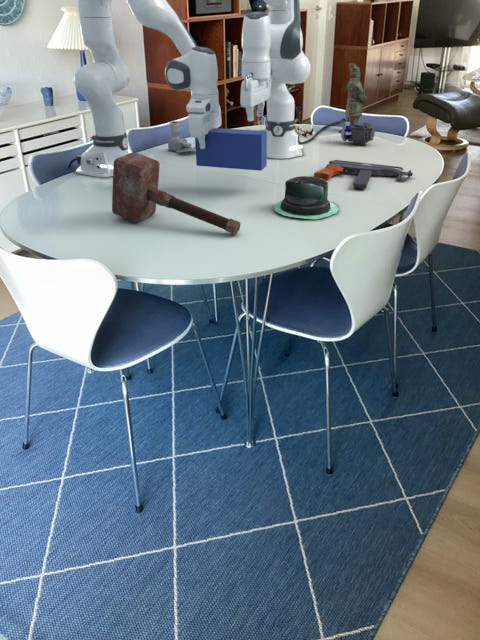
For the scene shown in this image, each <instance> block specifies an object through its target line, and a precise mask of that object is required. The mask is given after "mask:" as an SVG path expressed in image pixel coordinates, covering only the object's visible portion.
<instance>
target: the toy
mask: <svg viewBox="0 0 480 640" xmlns="http://www.w3.org/2000/svg"><path fill="white" fill-rule="evenodd" d="M357 124H358V123H357ZM357 124H355V125H354V127H352V124H350V122H346V121H345V122H344V123H343V126H342V128H341V129H339V130H338V134H340V137H341V139H342V141H343V142H346V141H348V142H349V143H352V145H358V146H359V145H360V146H366V144H367V143H369V142H373V140H374V138H375V133H376V129H375V127H374V126H372V123H370V122H363V124H358V125H357Z"/></svg>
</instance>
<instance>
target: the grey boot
mask: <svg viewBox="0 0 480 640" xmlns="http://www.w3.org/2000/svg"><path fill="white" fill-rule="evenodd" d="M180 128H181V126H180V121H178V120H173V121H172V120H171V121H169V129H170V137H167V146H168V148H167V149H168V151H171V152H174V153H175V152H176V154H181V153H187V152H190V151H194V150H196V147H195V146H194V147H193V146H192V143H190V142H188V139H186V138H182V137H180V136H181V135H180Z"/></svg>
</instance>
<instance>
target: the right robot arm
mask: <svg viewBox="0 0 480 640" xmlns="http://www.w3.org/2000/svg"><path fill="white" fill-rule="evenodd" d="M262 1H263V2H264V3H265V4H267V5H268V12H265V11H250V12H247V13H245V14H244V16H243V21H242V29H241V49H242V56H241V57H242V58H241V78H242V79H244V80H242V81H241V84H240V99H239V103H240V107H241V108H245V113H246V116H247V121H248V122H254V121H255V114H254V109H255V107H256V106H257V108H256V117H263V116H264V108H265V104H266V120H265V131H267V158H269V159H279V160H281V159H282V160H283V159H293V158H295V157H296V158H297V157H302V156H303V150H302V148H303V145H305V144H307V143H309V142H311V141H313V140H315V138H316V137H317V136H318V135H319V134H320V133H321V132H323V130H325V129H327V128H329V127H331V126H334V125H337V124H340V123H342V122H343V121H344V122H346V117H342V118H341V119H340V120H338V121H334V122H331V123H329V124H326V125H325V126H322V128H320V129H319V130H318V131H316V133H315V134H314V135H312V137H311V138H308V139H307V140H305V141H301V140H300V135H299V134H297V133H296V132H295V126H296V122H295V120H296V118H295V103H296V101H295V98H294V96H293V95H292V94H291V93H290V91H289V90H288V88H287V85H297V84H298V85H299V84H303V83H305V82H306V81H307V80H308V79H309V77H310V74H311V72H312V71H311V69H312V67H311V65H312V64H311V62H310V59H309V58H308V57H307V56H306V54H305V53H304V51H303V47H304V37H303V31H302V28H301V5H300V0H262ZM265 102H266V103H265Z"/></svg>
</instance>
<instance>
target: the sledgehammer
mask: <svg viewBox="0 0 480 640" xmlns="http://www.w3.org/2000/svg"><path fill="white" fill-rule="evenodd" d="M160 165H161V164H160V162H159V161H158V160H157V159H154V158H151V157H149V156H146V155H144V154H142V153H138V152H136V151H133V152H129V154H127V155H125V156H122V157H119V158H117V159H116V160H115V161H114V169H113V176H112V192H111V193H112V195H111V212H112V213H113V214H114V215H116V216H117V217H121V218H122V219H125V220H128V221H129V222H132V223H134V224H139V223H140V222H143V221H144V220H146V219H148V218H150V217H152V216H153V215H155V213H156V210H157V205H158V206H161V207H165V208H168V209H173V210H174V211H177V212H180V213H182V214H185V215H187V216H190V217H193V218H195V219H197V220H200V221H202V222H204V223H206V224H210V225H211V226H215V227H217V228H220V229H222V230H225V232H227V233H230V234H231V235H234V236H235V235H237V234H238V233H239V231H240V228H241V221H239V220H236V219H233V218H228V217H225V216H223V215H220V214H218V213H215V212H212V211H210V210H207V209H206V208H203V207H200V206H197V205H195V204H192V203H190V202H187V201H185V200H183V199H180V198H177V197H175V196H174V195H172V194H170V193H168V192H166V191H165V190H161V189H159V180H160V179H159V178H160Z"/></svg>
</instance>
